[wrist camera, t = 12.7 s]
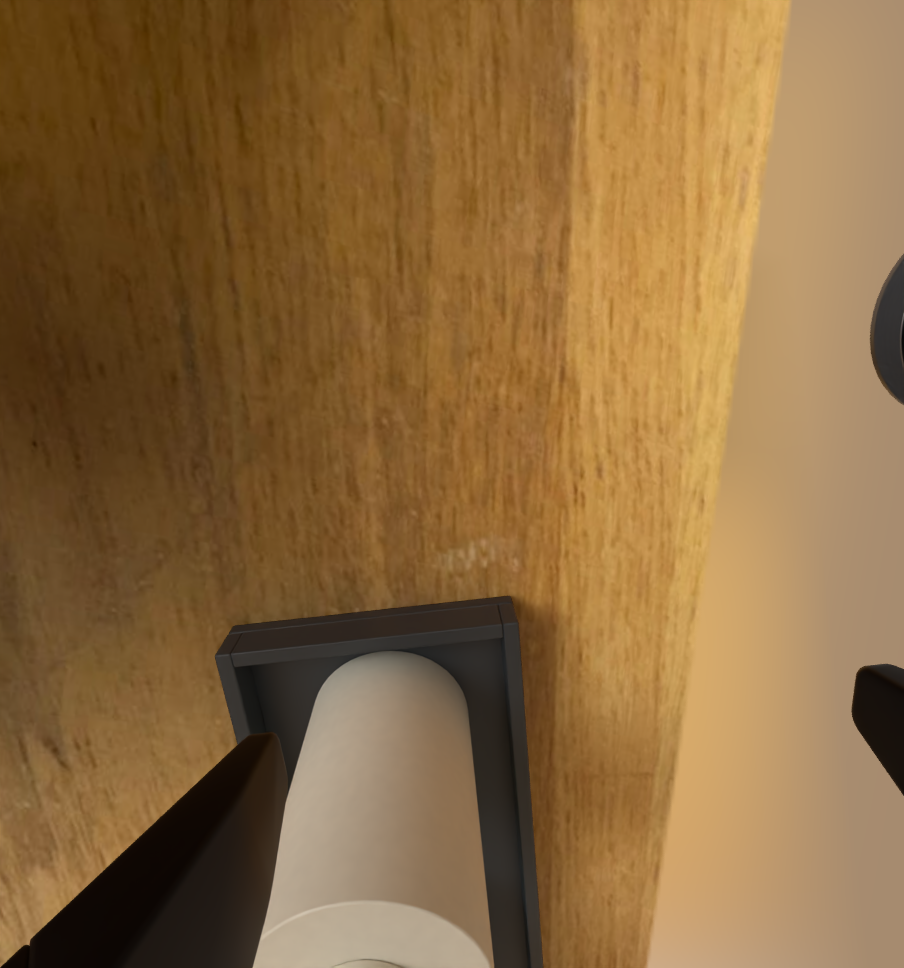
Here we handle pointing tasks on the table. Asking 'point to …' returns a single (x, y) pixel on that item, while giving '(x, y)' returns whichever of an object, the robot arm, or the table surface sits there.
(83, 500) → the table surface
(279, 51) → the table surface
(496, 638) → the tray
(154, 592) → the table surface
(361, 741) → the cream bottle
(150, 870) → the robot arm
